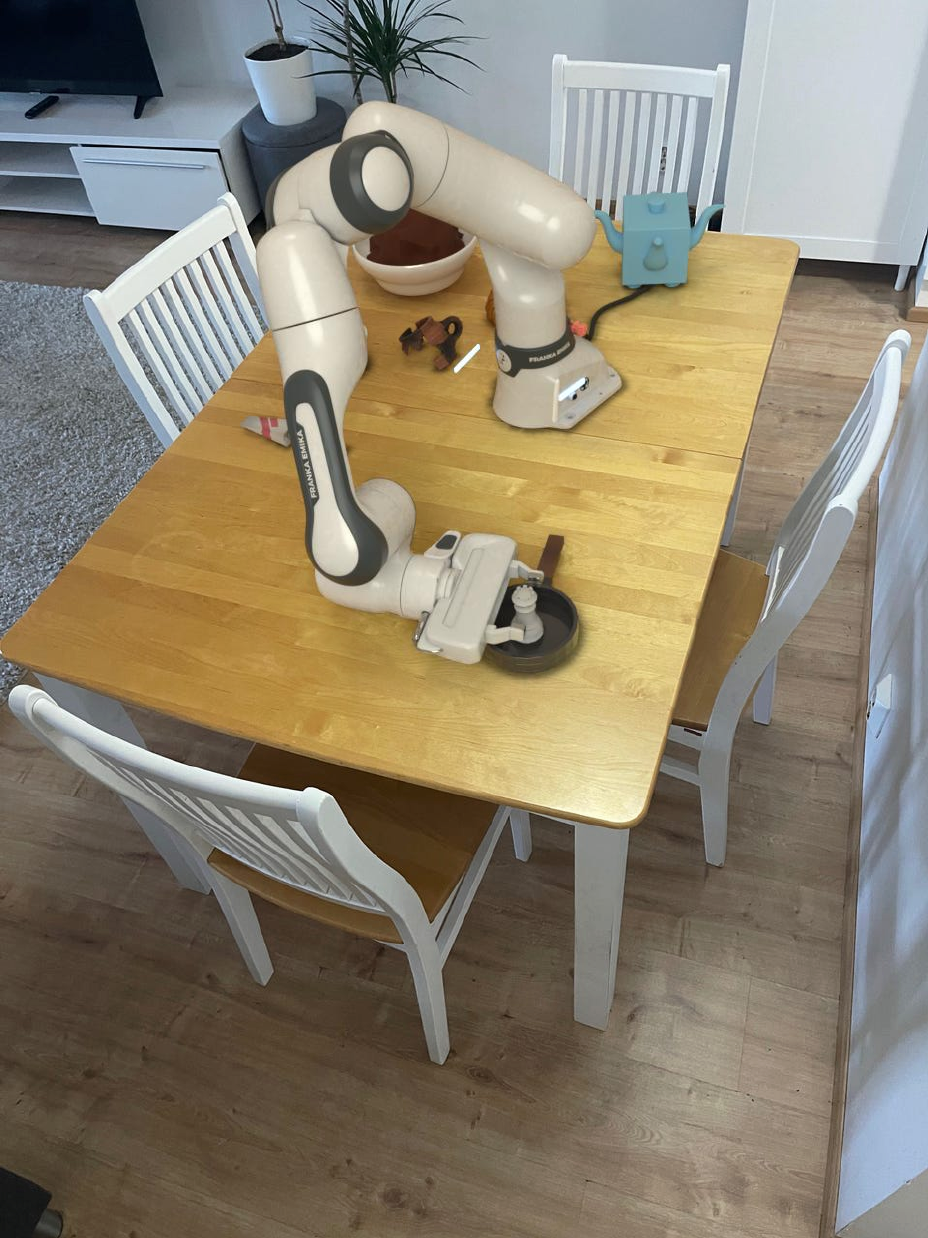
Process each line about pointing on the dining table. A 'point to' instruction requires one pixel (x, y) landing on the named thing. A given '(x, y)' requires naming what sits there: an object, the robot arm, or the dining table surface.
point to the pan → (554, 640)
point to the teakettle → (655, 237)
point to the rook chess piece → (527, 613)
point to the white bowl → (416, 255)
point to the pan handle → (550, 557)
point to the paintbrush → (269, 428)
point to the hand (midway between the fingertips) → (533, 605)
